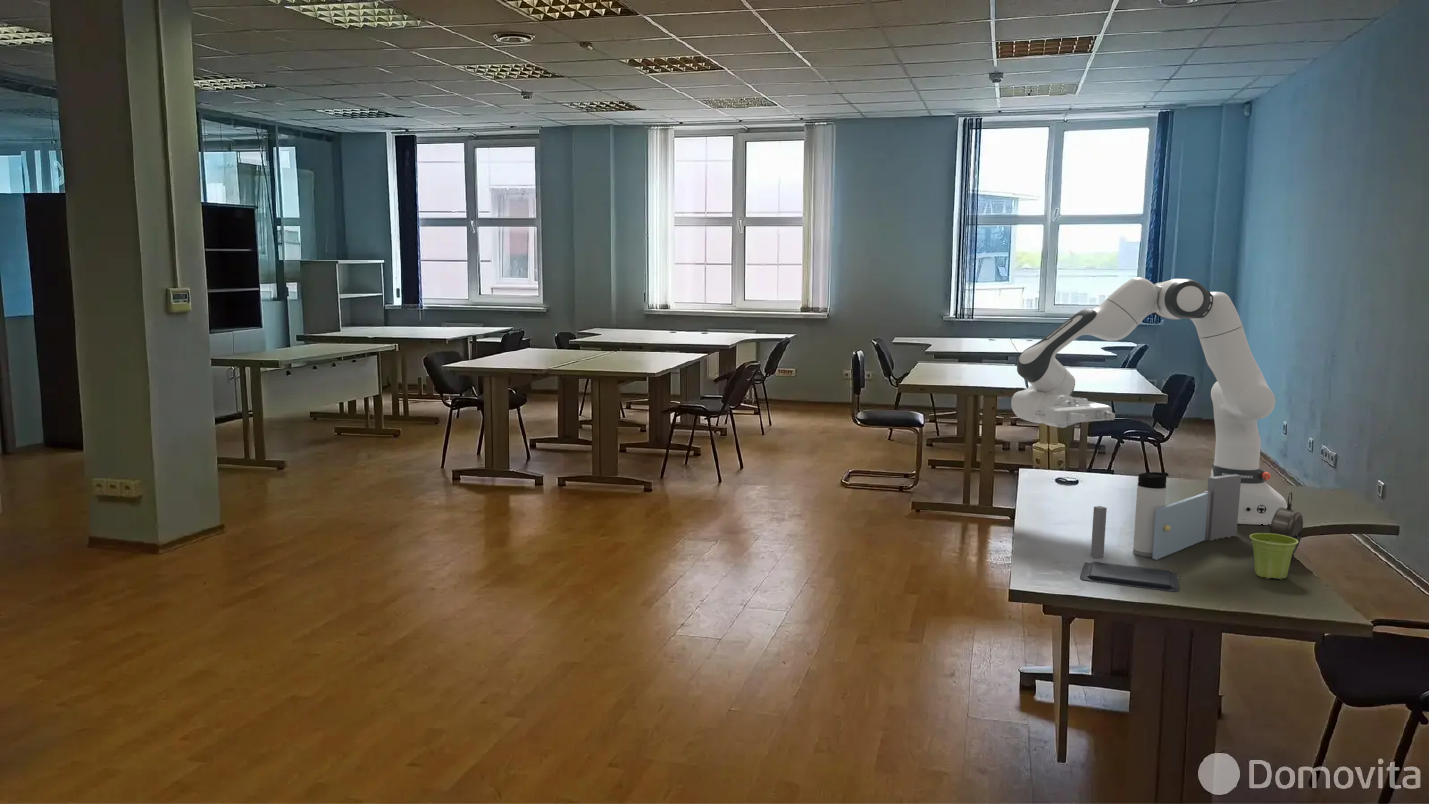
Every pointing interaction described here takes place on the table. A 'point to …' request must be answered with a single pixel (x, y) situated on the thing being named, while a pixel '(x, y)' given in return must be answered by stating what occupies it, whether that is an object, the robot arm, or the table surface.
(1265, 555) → the plant pot
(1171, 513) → the door
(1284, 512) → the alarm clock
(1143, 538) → the travel mug
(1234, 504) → the pair of grey slabs
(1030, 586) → the table surface
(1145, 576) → the dark grey book
